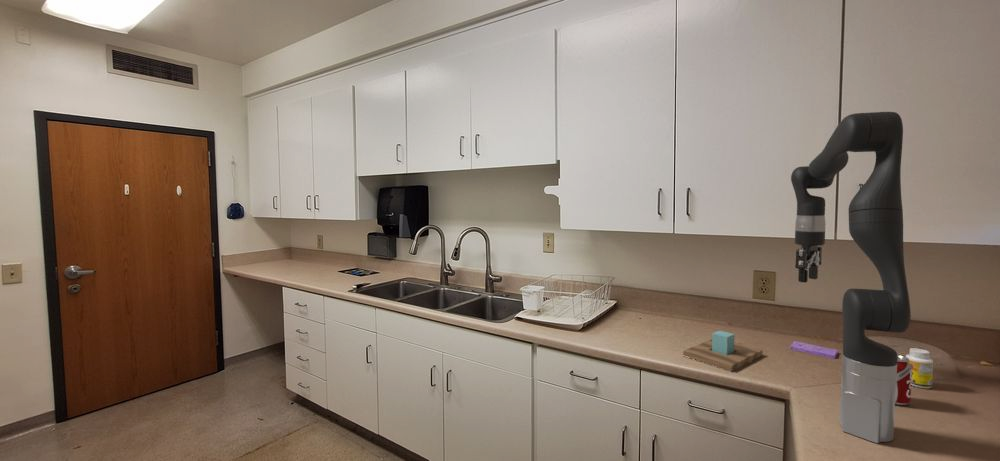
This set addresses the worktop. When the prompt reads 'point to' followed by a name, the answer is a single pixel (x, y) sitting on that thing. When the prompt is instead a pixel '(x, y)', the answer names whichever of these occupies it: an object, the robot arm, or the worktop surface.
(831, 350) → the sponges
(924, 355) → the supplement bottle
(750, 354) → the socket board
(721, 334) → the teal block
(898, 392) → the soda can
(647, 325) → the worktop surface
